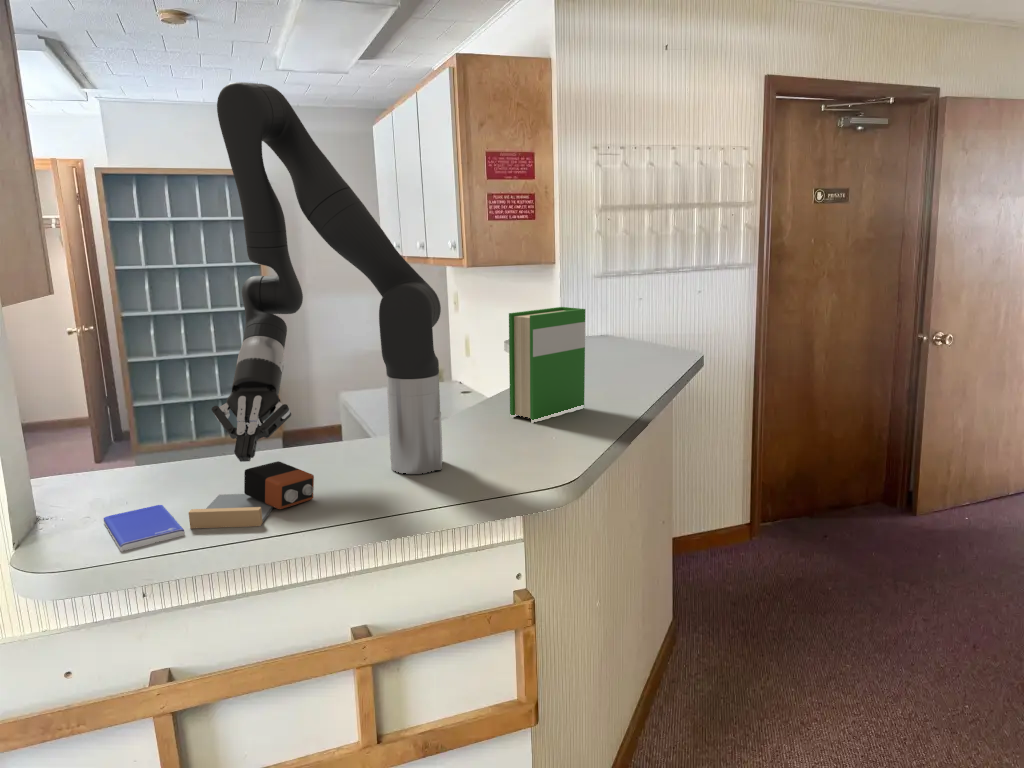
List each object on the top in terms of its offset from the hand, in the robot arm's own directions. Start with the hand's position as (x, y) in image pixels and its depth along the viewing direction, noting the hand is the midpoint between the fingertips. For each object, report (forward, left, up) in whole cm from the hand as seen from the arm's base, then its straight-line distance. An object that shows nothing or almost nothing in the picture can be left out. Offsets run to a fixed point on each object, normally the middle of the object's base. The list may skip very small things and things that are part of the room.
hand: (243, 459), depth 111 cm
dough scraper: (0, +4, -7) cm, 8 cm away
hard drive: (+12, +10, -8) cm, 17 cm away
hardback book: (-54, -50, -7) cm, 74 cm away
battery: (-2, -3, -4) cm, 5 cm away
